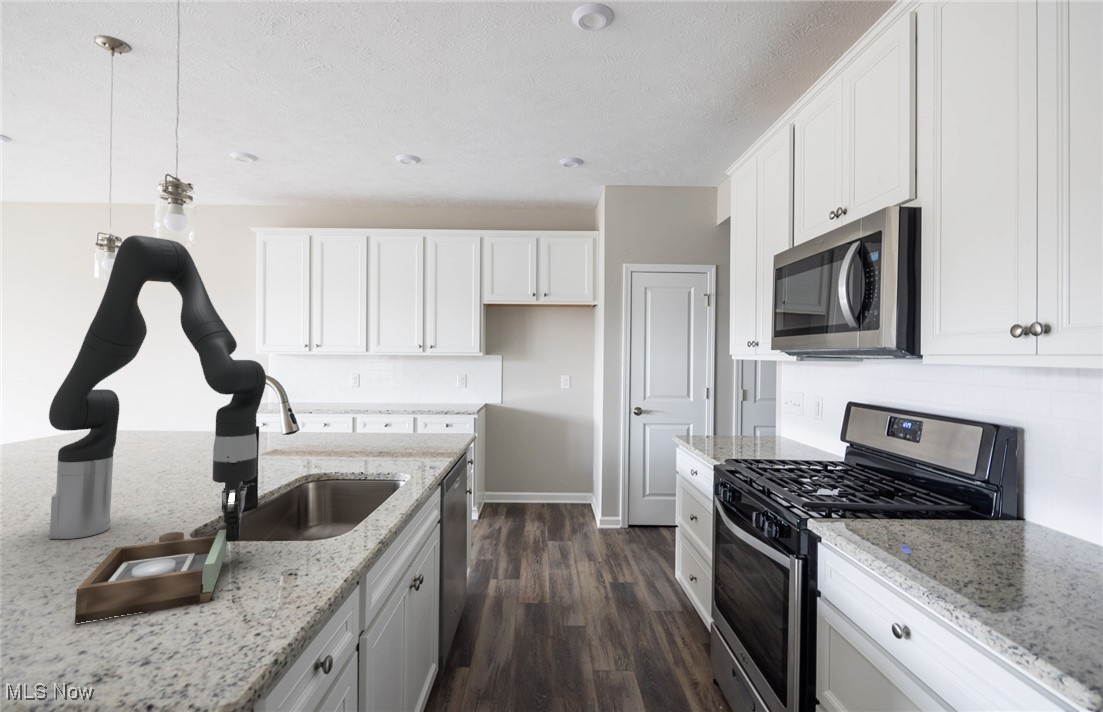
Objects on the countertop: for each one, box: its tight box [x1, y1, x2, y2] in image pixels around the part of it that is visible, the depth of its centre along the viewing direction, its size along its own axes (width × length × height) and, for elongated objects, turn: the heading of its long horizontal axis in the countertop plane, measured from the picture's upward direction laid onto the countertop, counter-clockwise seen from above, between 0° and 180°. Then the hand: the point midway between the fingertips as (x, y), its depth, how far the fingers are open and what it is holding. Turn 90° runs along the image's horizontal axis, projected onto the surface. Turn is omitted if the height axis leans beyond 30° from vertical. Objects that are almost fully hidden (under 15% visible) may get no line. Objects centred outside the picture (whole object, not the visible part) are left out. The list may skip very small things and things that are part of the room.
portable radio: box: [221, 425, 260, 512], centre depth 129 cm, size 8×6×25 cm
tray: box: [108, 529, 228, 593], centre depth 85 cm, size 16×18×5 cm
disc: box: [132, 559, 176, 578], centre depth 84 cm, size 6×6×2 cm
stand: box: [158, 531, 185, 542], centre depth 96 cm, size 4×4×5 cm
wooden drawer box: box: [74, 534, 217, 625], centre depth 85 cm, size 17×18×6 cm
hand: (232, 540), depth 97 cm, fingers closed
